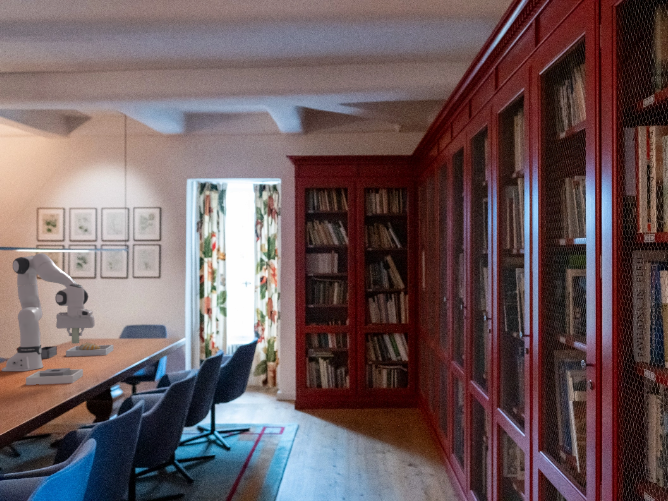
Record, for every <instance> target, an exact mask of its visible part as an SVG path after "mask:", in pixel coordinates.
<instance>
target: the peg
mask: <svg viewBox="0 0 668 501" xmlns="http://www.w3.org/2000/svg"><path fill="white" fill-rule="evenodd" d="M71 333H72V336H71V344H80V336H79V333H80V328H71Z"/></svg>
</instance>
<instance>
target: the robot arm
mask: <svg viewBox="0 0 668 501" xmlns="http://www.w3.org/2000/svg"><path fill="white" fill-rule="evenodd" d="M12 269H13V272H14V273H15V274H17V275H16V276H17V277H16V278H17V280H16V284H17V293H18V294H17V296H18V300H19V303H20V306H21V310H20V311H19V312H18V314H17V320H18V328H19V335H20V336H19V338H20V344H19V346H18V347H16V351H17V352H16V353H15V354H13V355H12V356H11V357H9V358H8V359H7V361H6V364H5V365H6V366H5V367H2V368H1V372H28V371H32V370H38V369H42V368H44V364H43V361H42V360H43V359H41V348H42V344H41V331H40V323H39V321H40V320H41V319H42V317H43V309H42V304H41V301H40V296H39V287H38V280H37V279H38V278H37V275H38V277H39V278H41V280H43V281H45V282H48V283H53V284H54V283H55V284H59V285H63V286H64V287H65V288H64V289H60V290H58V291H57V292H56V294H55V298H54V299H55V303H56V304H57V305H58V306H61V307H66V308H67V310H66V311H67V312H66V311H65V312H61V311H60V312H58V313H56V316H55V318H56V323H55V324H56V325H55V328H57V329H66V332H67V333H68V337H72V331H71V329H72V328H79V329H80V331H79V337H80V336H81V337H82V336H83V333H84V330H85V329H92V328H94V327H95V317H94V315H93V311H92V310H90V309H87V308H85V304H87V303H88V302H87V301H88V299H89V293H88V292H87V290H86V289H85V288H84V287H83V285H81V284H79V283H77V282H76V281H75V280H74V279H73V278H72V276H71V275H70V274H68V273H67V272H66V271H64V270H62V269H61V268H60V267H59V266H57V264H56V263H55V262H54V260H53V259H51V257H50V256H49V255H47V254H46V253H45V252H40V253H36V254H35V255H29V256H20V257H16V258H14V260H13V262H12Z"/></svg>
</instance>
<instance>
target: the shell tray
mask: <svg viewBox="0 0 668 501" xmlns="http://www.w3.org/2000/svg"><path fill="white" fill-rule="evenodd" d="M97 345H98V346H100V349H99V350H79V347H80V346H81V345H75V346H73V347H71V348H68V349H67V350H65V357H87V356H88V357H89V356H90V357H91V356H107V355H108V354H110V353H111V352H113V351H114V344H104V345H102V344H100V345H99V344H97Z"/></svg>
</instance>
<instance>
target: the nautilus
mask: <svg viewBox="0 0 668 501" xmlns="http://www.w3.org/2000/svg"><path fill="white" fill-rule="evenodd" d="M98 345H99V344H96V343H91V342H88V341H87V342H84V343H82V344H81V345H79V346H80V347H79V350H99V349H100V346H98Z"/></svg>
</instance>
